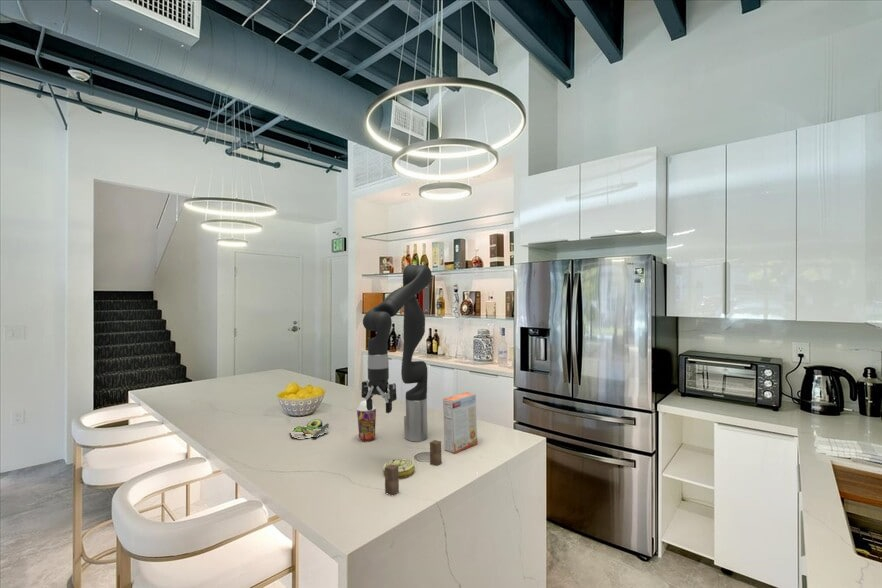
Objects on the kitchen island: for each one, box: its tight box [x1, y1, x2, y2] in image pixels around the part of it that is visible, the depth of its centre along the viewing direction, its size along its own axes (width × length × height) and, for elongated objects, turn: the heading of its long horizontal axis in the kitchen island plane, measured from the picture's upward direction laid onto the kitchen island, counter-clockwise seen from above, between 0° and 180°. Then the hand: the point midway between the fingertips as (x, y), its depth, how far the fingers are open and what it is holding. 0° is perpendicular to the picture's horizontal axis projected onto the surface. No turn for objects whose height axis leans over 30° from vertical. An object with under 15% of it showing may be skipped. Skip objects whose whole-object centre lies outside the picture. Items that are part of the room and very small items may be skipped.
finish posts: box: [384, 439, 443, 496], centre depth 136 cm, size 3×28×8 cm, turn 147°
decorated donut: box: [382, 458, 415, 479], centre depth 140 cm, size 10×11×4 cm
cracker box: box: [442, 391, 478, 454], centre depth 162 cm, size 14×6×21 cm, turn 134°
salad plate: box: [292, 418, 330, 438], centre depth 183 cm, size 19×18×5 cm
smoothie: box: [356, 399, 377, 442], centre depth 174 cm, size 8×8×20 cm
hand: (379, 411), depth 145 cm, fingers open, 8 cm apart
